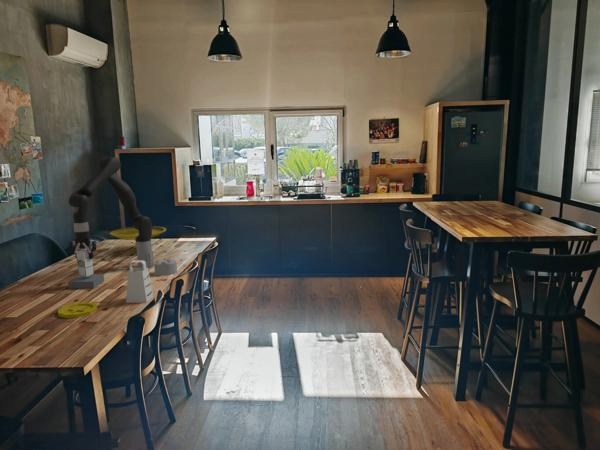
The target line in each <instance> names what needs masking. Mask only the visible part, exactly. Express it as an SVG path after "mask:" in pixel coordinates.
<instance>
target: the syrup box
mask: <svg viewBox="0 0 600 450" xmlns="http://www.w3.org/2000/svg"><path fill="white" fill-rule="evenodd" d="M76 255H77V259H76V262H77V271H78V275H79V276H90V275H93V274H94V266H93V258H92V259H90V258H89V251H88V250H87V249H86V248H80V250H78V251H76Z"/></svg>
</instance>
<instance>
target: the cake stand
mask: <svg viewBox="0 0 600 450" xmlns="http://www.w3.org/2000/svg"><path fill="white" fill-rule="evenodd" d="M166 231H167V228H166V227H163V226H153V225H152V236H151V239H152V238H156V237H158V236H160V235H161V234H163V233H165V232H166ZM109 235H110V236H113V237H115V238H117V239H120V240H129V241H130V240H133V241H134V242H136V237H137V236H138V235H139V230H138V229H135V228H134V227H133V226H132V227H131V226H130V227H125V228H119V229H114V230H112V231H110V232H109ZM130 253H132V254H137V248H136V247H134V248H133V249H131V250H130Z"/></svg>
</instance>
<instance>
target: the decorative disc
mask: <svg viewBox="0 0 600 450" xmlns="http://www.w3.org/2000/svg"><path fill="white" fill-rule="evenodd" d="M97 311H98V304H97V303H94V302H91V301H87V302H75V303H72V304H66V305H63V307H60V308H58V311H57V315H58V317H59V318H64V319H79V318H81V317H82V318H83V317H86V316H87V317H88V316H91V315H92V314H94V313H96V312H97Z"/></svg>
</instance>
